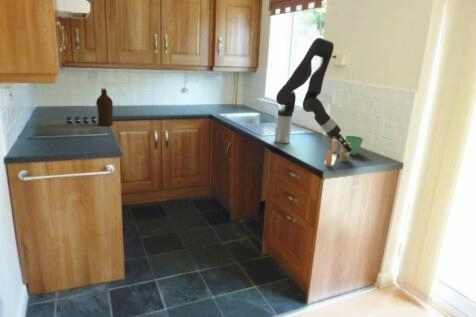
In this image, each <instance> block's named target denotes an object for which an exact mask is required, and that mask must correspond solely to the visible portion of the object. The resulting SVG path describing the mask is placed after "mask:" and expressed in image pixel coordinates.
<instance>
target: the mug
mask: <svg viewBox="0 0 476 317" xmlns="http://www.w3.org/2000/svg"><path fill="white" fill-rule="evenodd" d="M345 140H346V142H348V143H351V149H352V151H350V154H349V156H355V155H357V154H358V152H359V150H360V148H361V146H362V143H363V141H364V138H363V137H361V136H356V135H346V136H345Z"/></svg>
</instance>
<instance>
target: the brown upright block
mask: <svg viewBox="0 0 476 317" xmlns="http://www.w3.org/2000/svg"><path fill="white" fill-rule="evenodd" d="M345 144H346V143H344V144H343V145H345ZM347 144H348V146H349V147H350V148H351V143H348V142H347ZM343 145H340V150H339V151H340V152H339V158H338V161H340V162H341V163H344V162H345V163H348V162H349V161H350V160H349V159H350V152H348V151H347V150H346V149H345V148H344V147H343Z"/></svg>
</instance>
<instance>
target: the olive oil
mask: <svg viewBox="0 0 476 317" xmlns="http://www.w3.org/2000/svg"><path fill="white" fill-rule="evenodd" d="M100 92H101V94H100V95H99V97H98V98H97V99H96V102H95V103H96V105H95V106H96V115H97V125H98V126H99V127H111V126H113V125H114V124H113V120H114V119H113V115H114V114H113V112H114V111H113V108H114V107H113V104H114V103H113V100H112V99H111V97H110V96H109V95H108V92H107V88H101V91H100Z"/></svg>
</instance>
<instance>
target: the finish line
mask: <svg viewBox="0 0 476 317" xmlns="http://www.w3.org/2000/svg"><path fill="white" fill-rule="evenodd" d="M338 144H339V142H337V141H336V140H335V139H332V144H331V150H330V149H329V150H327V151H326V156H325V161H324V163H323V165H324V166H325V167H328V168H329V167H332V166H334V165H335V162H336V160H337V157H338V154H337V151H338Z"/></svg>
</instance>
